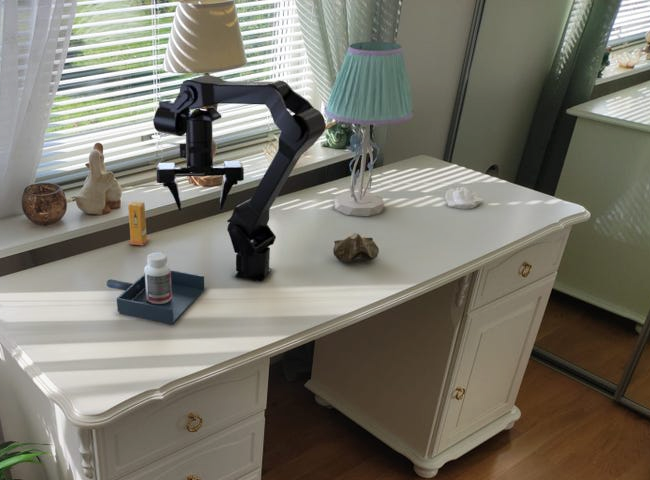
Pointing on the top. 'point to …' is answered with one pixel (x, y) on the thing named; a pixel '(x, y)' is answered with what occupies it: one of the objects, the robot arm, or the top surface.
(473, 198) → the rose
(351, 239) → the fossilized seashell
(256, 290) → the top surface
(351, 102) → the table lamp
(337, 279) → the top surface
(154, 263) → the pill bottle
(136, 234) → the supplement box
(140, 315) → the dustpan
